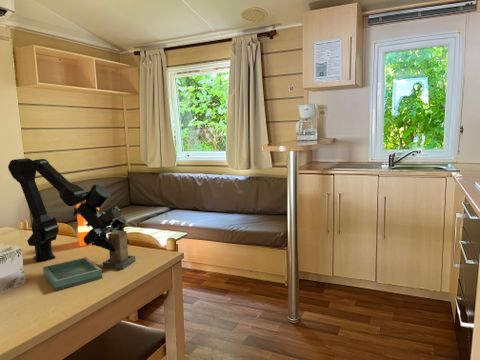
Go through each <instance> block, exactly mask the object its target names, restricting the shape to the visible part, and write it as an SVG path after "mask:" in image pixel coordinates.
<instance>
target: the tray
mask: <svg viewBox="0 0 480 360" xmlns="http://www.w3.org/2000/svg"><path fill="white" fill-rule="evenodd" d="M42 269H43V270H42V271H43V276H44V278H45V279H46V280H47V281H48V283H49V284H50V285H51V287H52V288H53V290H54V291H55V292H58V291H61V290H65V289H68V288H73V287H75V286H78V285H79V286H80V285H83V284H87V283H89V282H93V281H97V280H101V279H103V270H102V268H100V267H99V266H98V265H97V264H95V262H94V261H92V260H91V259H90V258H88V257H87V256H85V257H81V258H75V259H72V260H67V261H63V262H60V263H59V262H58V263H55V264H51V265H46V266H43V267H42Z"/></svg>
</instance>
